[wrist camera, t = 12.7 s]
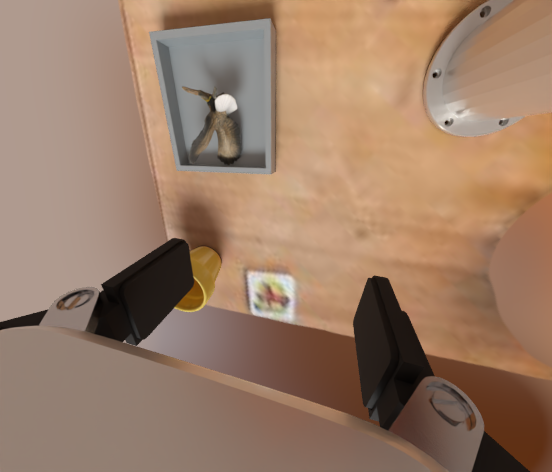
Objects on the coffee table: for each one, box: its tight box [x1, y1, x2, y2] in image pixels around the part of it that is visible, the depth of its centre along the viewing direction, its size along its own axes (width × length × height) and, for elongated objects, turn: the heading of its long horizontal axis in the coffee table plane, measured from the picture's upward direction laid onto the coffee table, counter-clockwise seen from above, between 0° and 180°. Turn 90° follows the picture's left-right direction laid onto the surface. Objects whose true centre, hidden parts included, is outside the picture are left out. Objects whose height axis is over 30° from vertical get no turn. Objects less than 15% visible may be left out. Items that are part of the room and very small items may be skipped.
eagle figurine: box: [182, 86, 242, 165], centre depth 28 cm, size 8×7×9 cm
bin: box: [149, 18, 276, 174], centre depth 28 cm, size 16×17×3 cm
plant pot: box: [174, 246, 221, 312], centre depth 38 cm, size 10×10×10 cm
